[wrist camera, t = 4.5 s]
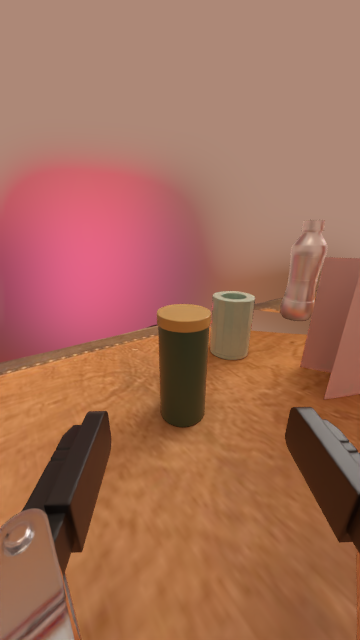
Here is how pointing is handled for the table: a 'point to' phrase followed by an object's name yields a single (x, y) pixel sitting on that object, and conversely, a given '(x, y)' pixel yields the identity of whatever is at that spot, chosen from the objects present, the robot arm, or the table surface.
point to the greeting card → (336, 327)
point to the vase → (231, 324)
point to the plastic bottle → (304, 271)
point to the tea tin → (183, 362)
